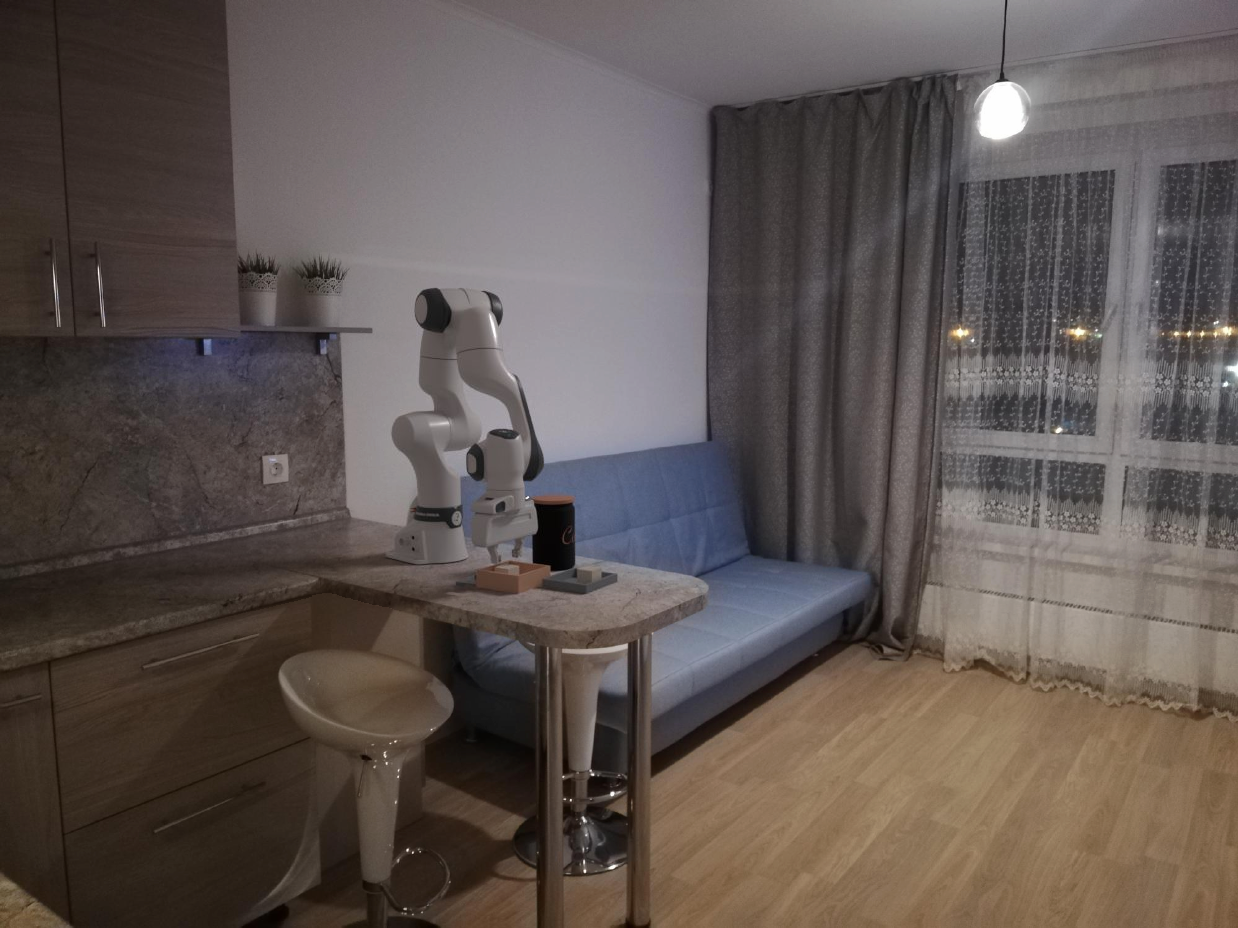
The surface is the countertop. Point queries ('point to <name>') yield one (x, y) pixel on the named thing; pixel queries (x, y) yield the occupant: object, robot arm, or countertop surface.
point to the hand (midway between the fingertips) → (506, 560)
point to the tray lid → (467, 581)
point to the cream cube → (508, 569)
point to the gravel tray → (569, 582)
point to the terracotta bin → (512, 577)
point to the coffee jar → (554, 532)
